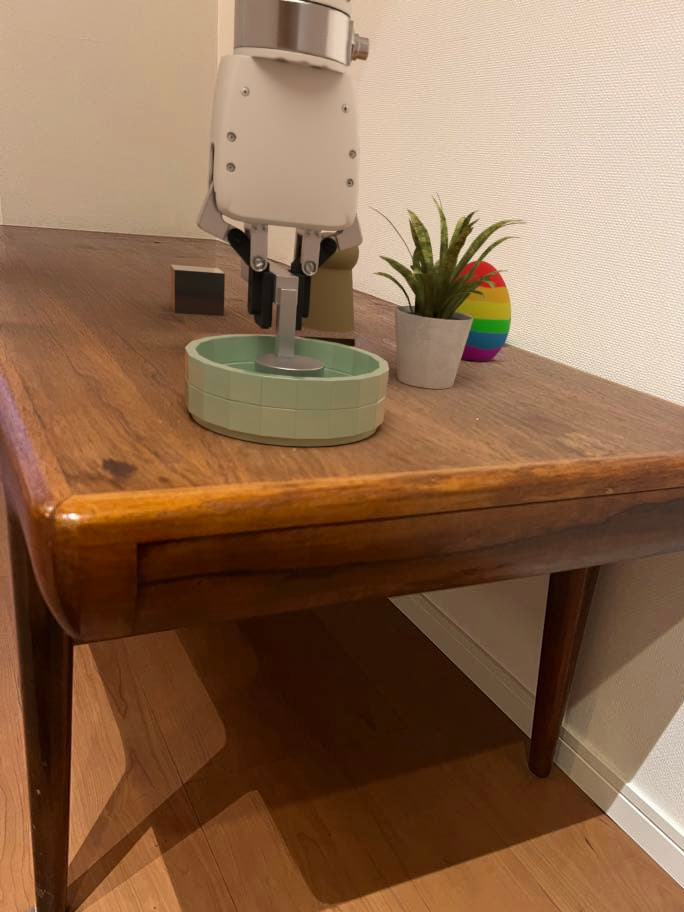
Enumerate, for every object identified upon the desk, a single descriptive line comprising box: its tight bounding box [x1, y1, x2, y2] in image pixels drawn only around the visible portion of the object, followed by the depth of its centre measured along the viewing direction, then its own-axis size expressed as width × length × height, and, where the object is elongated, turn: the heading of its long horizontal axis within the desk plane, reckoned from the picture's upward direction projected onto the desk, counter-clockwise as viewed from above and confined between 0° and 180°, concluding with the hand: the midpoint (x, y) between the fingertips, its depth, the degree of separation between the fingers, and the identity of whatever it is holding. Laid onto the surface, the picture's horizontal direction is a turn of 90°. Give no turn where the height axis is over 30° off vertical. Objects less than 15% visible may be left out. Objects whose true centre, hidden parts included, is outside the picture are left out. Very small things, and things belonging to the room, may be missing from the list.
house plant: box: [366, 193, 526, 390], centre depth 69 cm, size 14×14×16 cm
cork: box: [298, 231, 360, 347], centre depth 82 cm, size 6×6×11 cm
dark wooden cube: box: [169, 264, 226, 317], centre depth 82 cm, size 5×4×6 cm
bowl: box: [184, 333, 390, 447], centre depth 56 cm, size 14×14×4 cm
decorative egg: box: [455, 260, 512, 362], centre depth 84 cm, size 8×8×10 cm
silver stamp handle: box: [240, 257, 325, 378], centre depth 61 cm, size 18×5×8 cm, turn 21°
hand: (277, 324), depth 59 cm, fingers closed on silver stamp handle
